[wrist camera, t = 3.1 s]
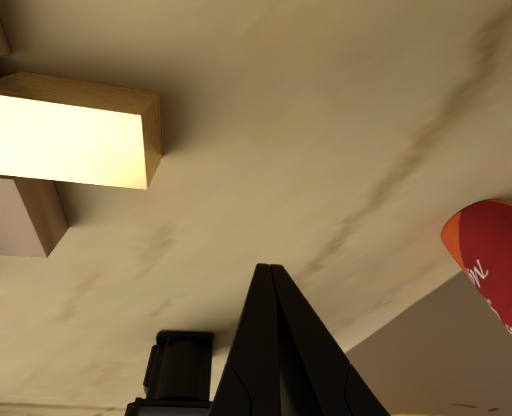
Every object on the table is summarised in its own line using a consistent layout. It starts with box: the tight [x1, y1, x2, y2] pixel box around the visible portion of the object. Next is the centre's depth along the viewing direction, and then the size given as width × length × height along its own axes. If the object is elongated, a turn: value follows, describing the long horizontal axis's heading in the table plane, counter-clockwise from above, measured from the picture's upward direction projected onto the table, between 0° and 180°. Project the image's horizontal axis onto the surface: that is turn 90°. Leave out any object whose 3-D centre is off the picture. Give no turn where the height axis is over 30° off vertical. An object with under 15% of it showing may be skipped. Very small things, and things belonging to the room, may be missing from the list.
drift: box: [0, 71, 162, 189], centre depth 14 cm, size 7×4×4 cm, turn 80°
